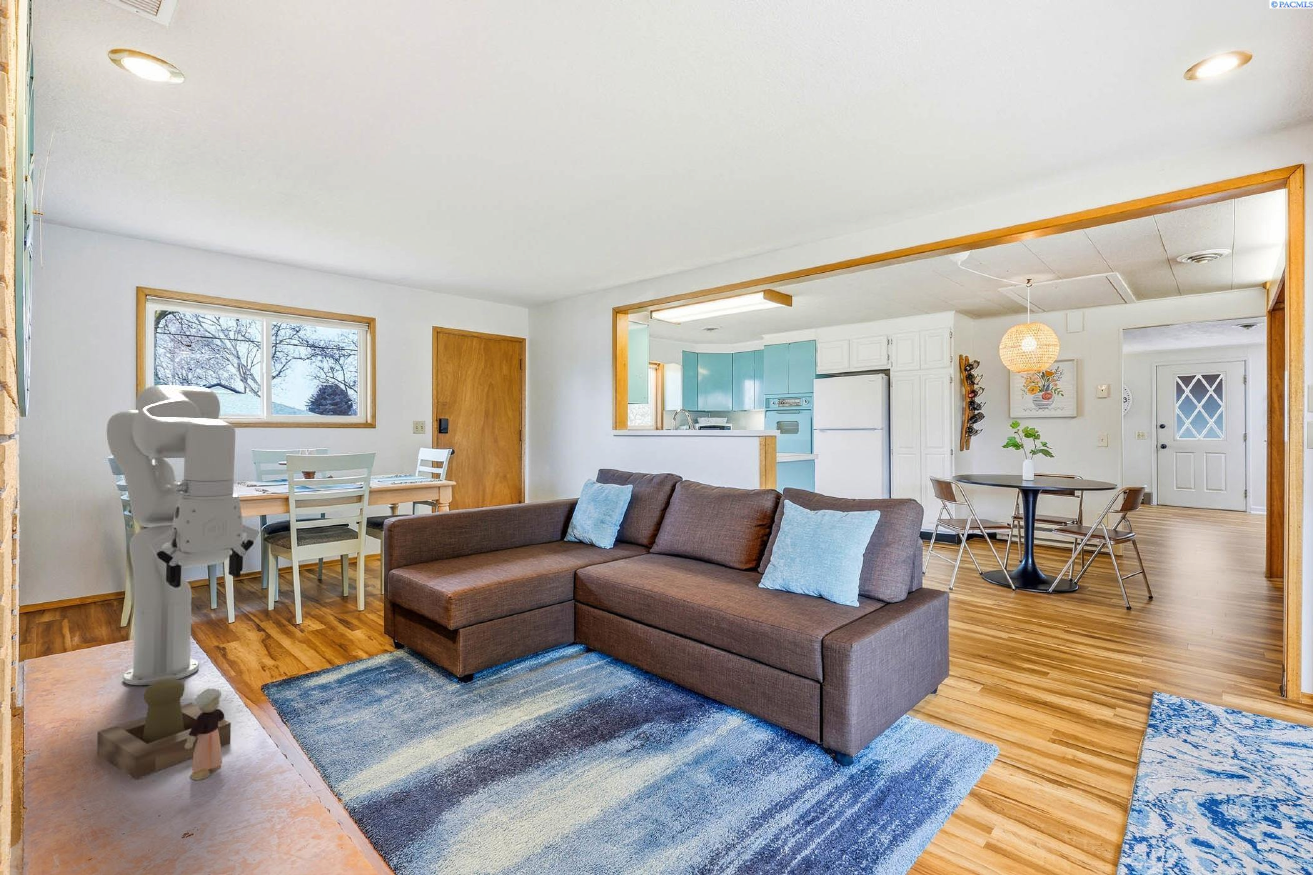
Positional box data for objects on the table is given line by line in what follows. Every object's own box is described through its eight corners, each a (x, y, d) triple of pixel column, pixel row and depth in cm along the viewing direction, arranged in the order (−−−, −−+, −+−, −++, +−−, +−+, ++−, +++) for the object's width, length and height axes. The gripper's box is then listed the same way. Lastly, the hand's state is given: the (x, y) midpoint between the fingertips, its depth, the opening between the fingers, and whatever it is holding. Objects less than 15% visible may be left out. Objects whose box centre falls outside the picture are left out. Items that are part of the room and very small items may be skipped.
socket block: (97, 753, 100) (97, 731, 100) (190, 721, 111) (190, 702, 111) (135, 779, 93) (135, 756, 93) (230, 743, 104) (230, 722, 104)
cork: (159, 760, 99) (161, 691, 99) (129, 754, 100) (131, 686, 100) (195, 742, 105) (197, 676, 104) (166, 737, 106) (168, 672, 106)
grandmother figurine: (207, 783, 93) (209, 698, 93) (179, 785, 92) (181, 699, 92) (234, 756, 100) (235, 678, 100) (207, 758, 100) (209, 679, 100)
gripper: (160, 494, 105) (157, 594, 106) (269, 488, 120) (265, 576, 120) (142, 489, 109) (139, 586, 110) (249, 483, 124) (246, 568, 124)
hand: (205, 580), depth 115 cm, fingers open, 9 cm apart
